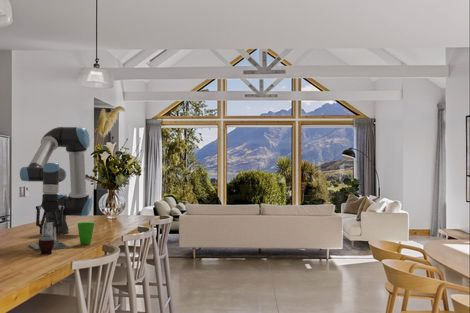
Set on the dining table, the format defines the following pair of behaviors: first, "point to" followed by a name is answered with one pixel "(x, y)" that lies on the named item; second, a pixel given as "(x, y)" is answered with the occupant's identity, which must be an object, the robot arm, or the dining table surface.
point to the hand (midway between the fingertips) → (48, 240)
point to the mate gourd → (46, 243)
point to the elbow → (49, 229)
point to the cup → (85, 232)
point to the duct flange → (56, 246)
